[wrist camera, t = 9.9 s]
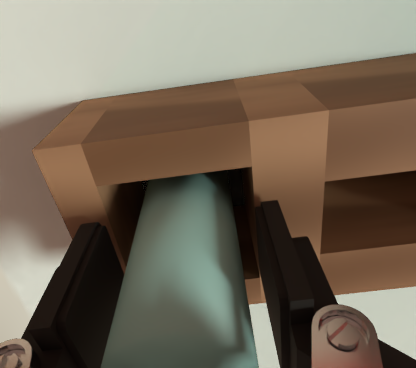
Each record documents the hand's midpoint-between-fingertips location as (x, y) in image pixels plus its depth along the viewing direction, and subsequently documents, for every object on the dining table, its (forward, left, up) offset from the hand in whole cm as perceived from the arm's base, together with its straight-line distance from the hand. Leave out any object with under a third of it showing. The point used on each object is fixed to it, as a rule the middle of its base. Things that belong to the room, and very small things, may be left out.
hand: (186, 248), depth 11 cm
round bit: (0, 0, -6) cm, 6 cm away
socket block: (0, -4, -6) cm, 7 cm away
